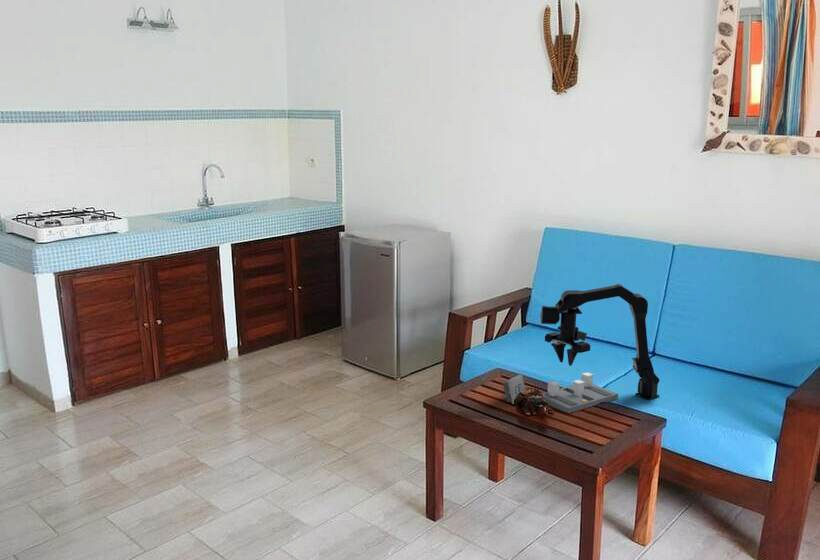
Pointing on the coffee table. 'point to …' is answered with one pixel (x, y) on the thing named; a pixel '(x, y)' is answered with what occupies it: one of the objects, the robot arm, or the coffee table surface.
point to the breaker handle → (578, 387)
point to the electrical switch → (513, 388)
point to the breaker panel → (571, 402)
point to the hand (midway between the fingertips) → (565, 363)
